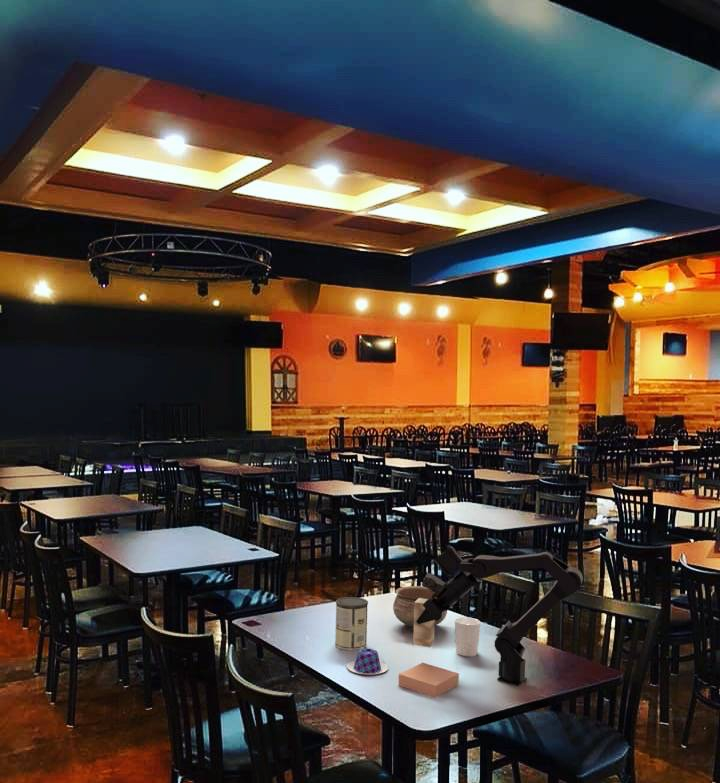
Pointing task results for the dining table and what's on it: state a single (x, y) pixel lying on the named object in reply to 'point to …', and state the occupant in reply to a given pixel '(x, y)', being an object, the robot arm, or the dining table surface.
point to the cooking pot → (411, 603)
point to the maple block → (422, 626)
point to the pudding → (367, 662)
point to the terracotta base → (428, 679)
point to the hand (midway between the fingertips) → (419, 620)
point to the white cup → (467, 636)
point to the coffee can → (351, 623)
